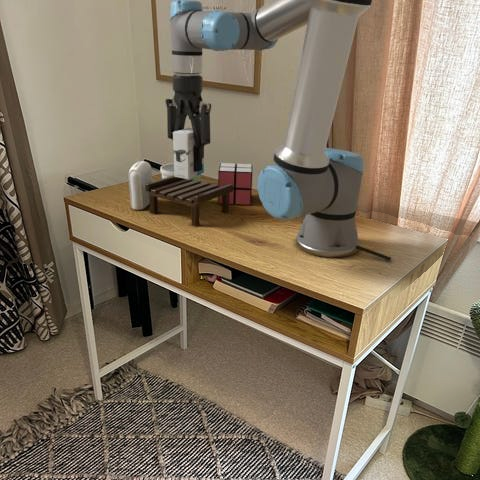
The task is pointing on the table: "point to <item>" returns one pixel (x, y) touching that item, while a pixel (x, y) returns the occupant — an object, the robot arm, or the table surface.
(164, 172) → the ramekin
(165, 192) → the rack
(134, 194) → the photo printer
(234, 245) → the table surface
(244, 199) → the puzzle cube
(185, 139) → the ink box
